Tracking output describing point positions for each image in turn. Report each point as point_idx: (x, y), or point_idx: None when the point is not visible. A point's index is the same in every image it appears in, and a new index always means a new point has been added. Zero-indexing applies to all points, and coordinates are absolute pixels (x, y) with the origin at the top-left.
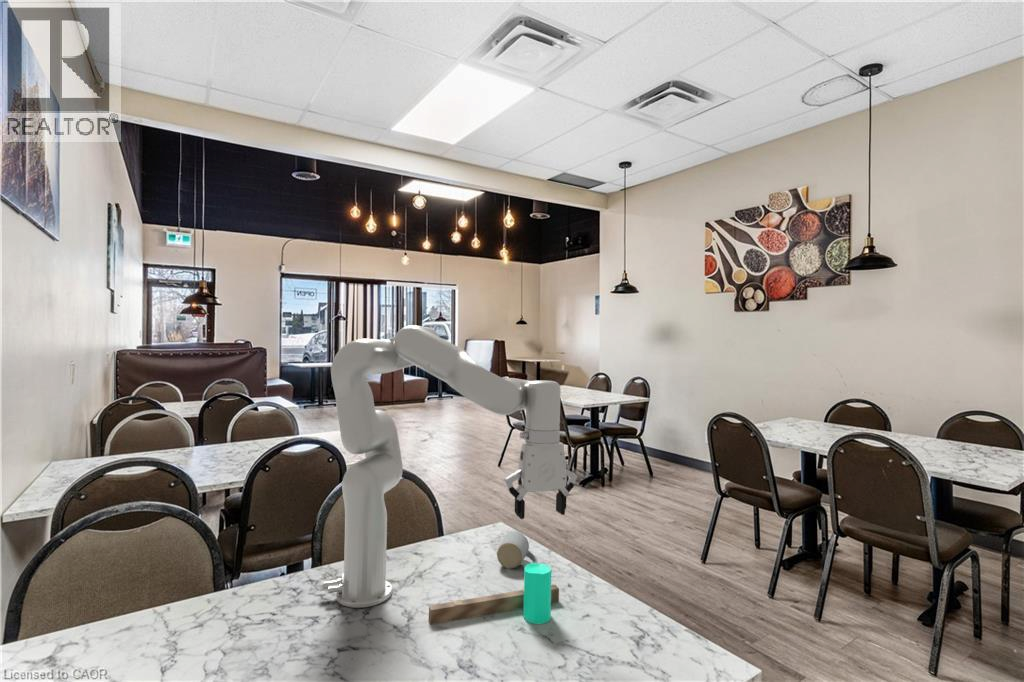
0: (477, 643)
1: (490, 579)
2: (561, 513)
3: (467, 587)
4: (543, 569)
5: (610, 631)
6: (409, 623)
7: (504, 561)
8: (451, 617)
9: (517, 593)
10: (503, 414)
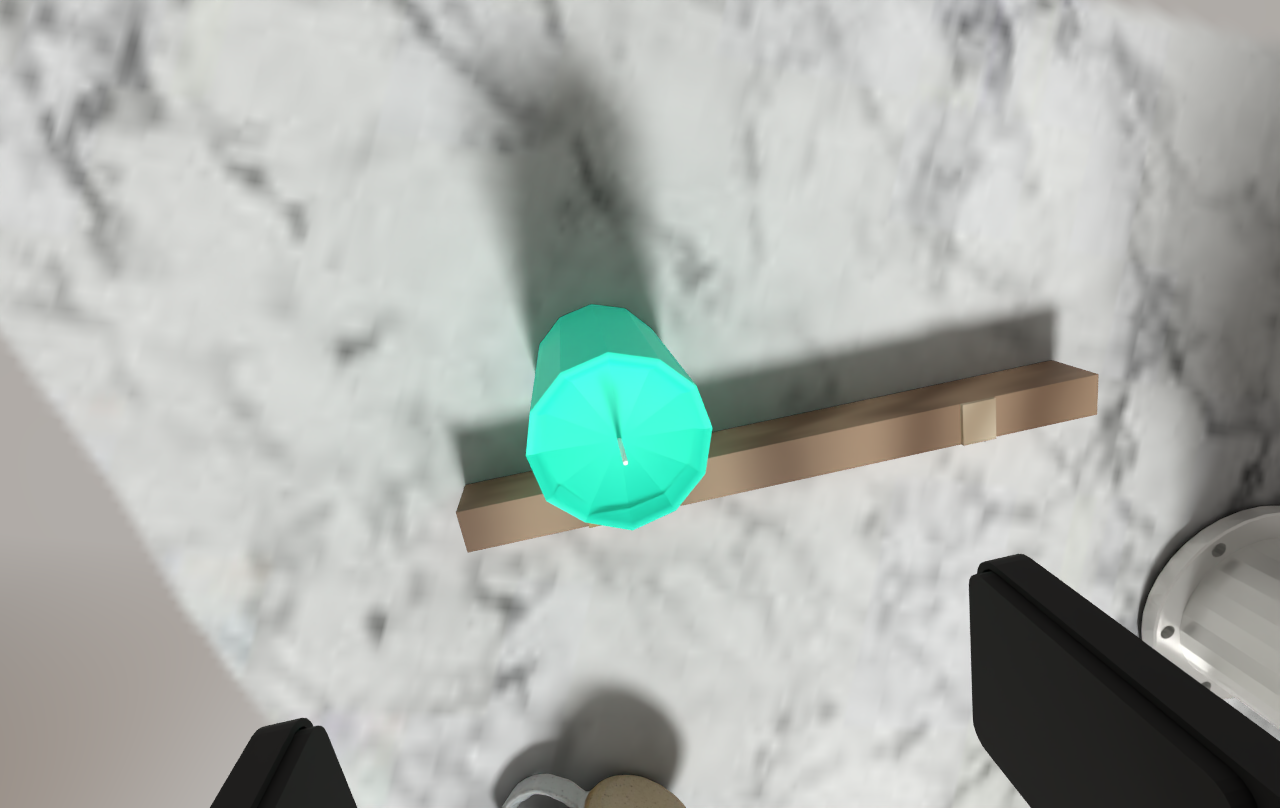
0: (903, 191)
1: (738, 692)
2: (318, 736)
3: (848, 632)
4: (577, 449)
5: (259, 187)
6: (1123, 380)
7: (665, 805)
8: (977, 380)
9: None
10: None
